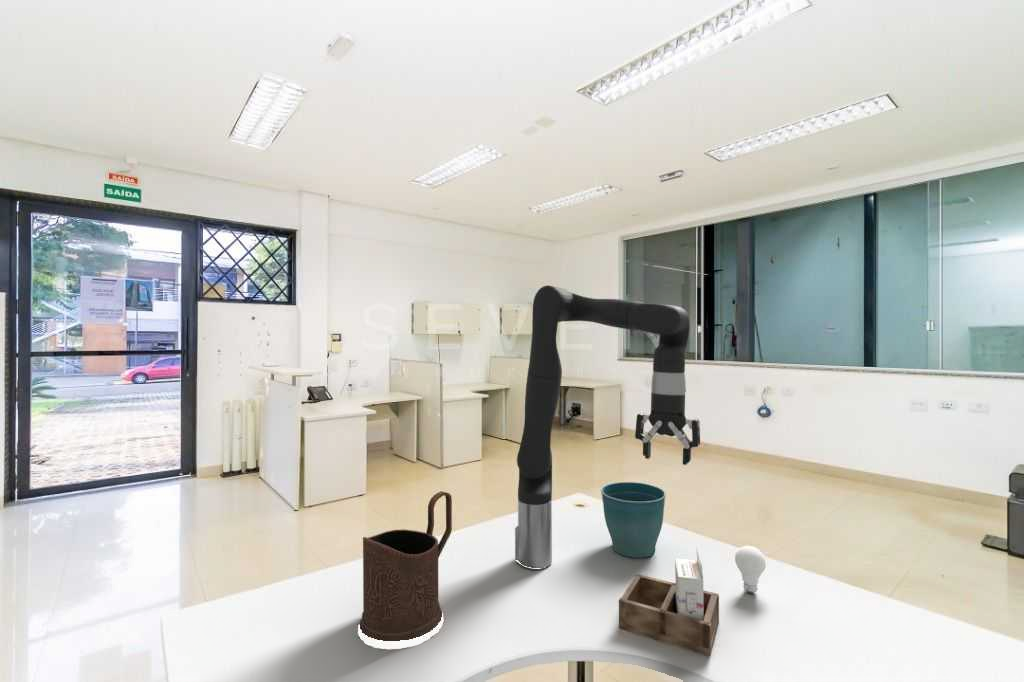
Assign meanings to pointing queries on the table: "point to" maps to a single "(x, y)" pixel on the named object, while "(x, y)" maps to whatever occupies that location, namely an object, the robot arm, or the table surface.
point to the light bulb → (750, 566)
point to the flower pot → (633, 517)
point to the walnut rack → (667, 615)
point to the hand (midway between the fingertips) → (666, 461)
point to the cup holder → (403, 580)
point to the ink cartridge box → (689, 588)
